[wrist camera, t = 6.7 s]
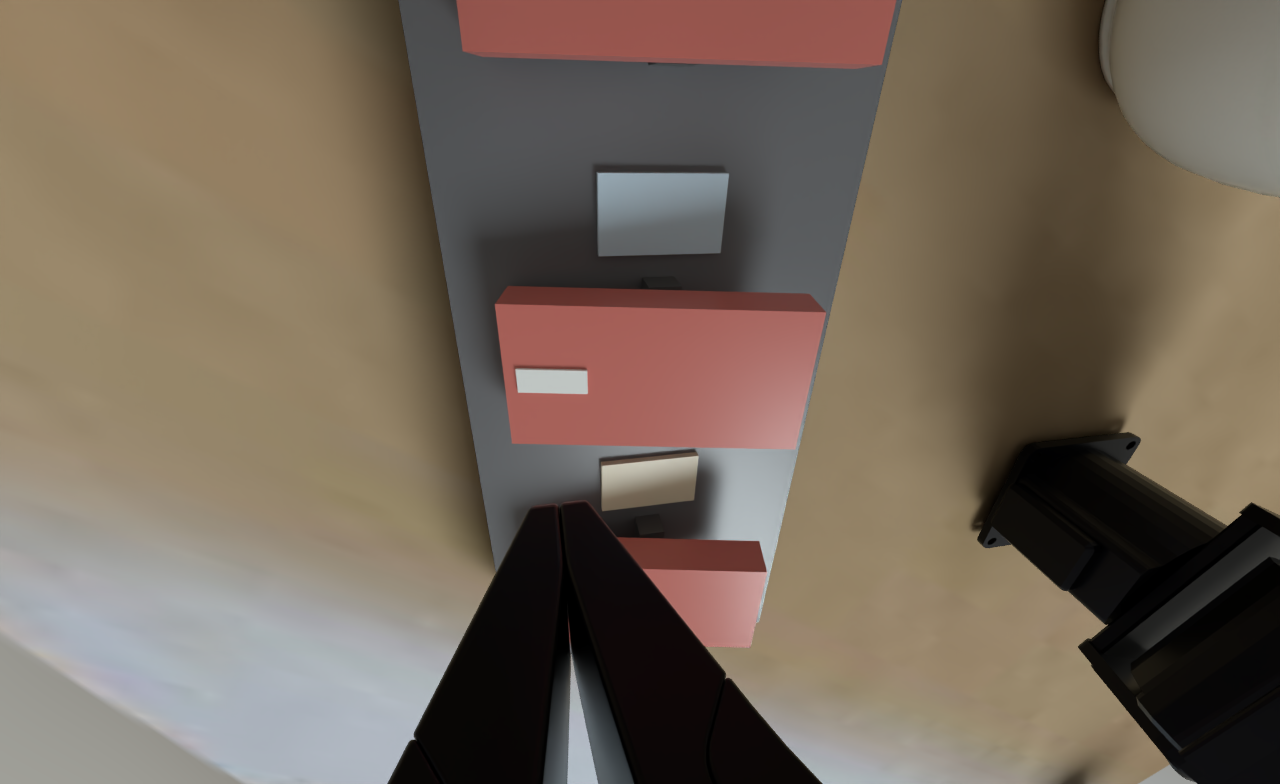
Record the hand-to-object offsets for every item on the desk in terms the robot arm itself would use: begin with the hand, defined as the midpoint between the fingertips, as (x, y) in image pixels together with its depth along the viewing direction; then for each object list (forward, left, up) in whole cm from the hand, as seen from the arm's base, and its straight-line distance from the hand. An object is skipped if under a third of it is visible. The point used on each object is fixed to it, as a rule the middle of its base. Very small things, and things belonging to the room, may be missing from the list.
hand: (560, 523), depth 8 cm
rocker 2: (-3, 0, -6) cm, 7 cm away
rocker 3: (-3, +8, -6) cm, 11 cm away
